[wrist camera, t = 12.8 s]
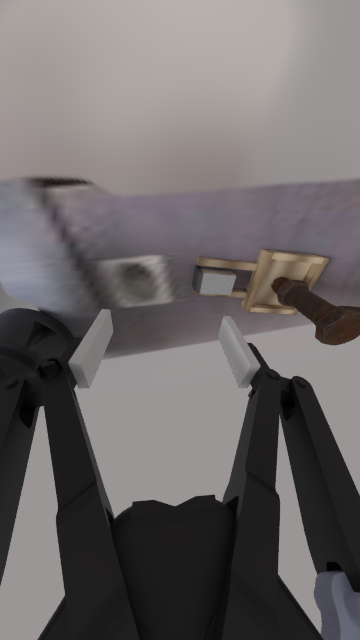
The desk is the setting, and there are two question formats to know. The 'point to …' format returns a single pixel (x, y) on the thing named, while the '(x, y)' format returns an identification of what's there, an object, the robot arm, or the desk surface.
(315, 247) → the desk surface
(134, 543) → the robot arm
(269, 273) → the socket
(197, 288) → the grey rectangular block
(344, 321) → the bolt
